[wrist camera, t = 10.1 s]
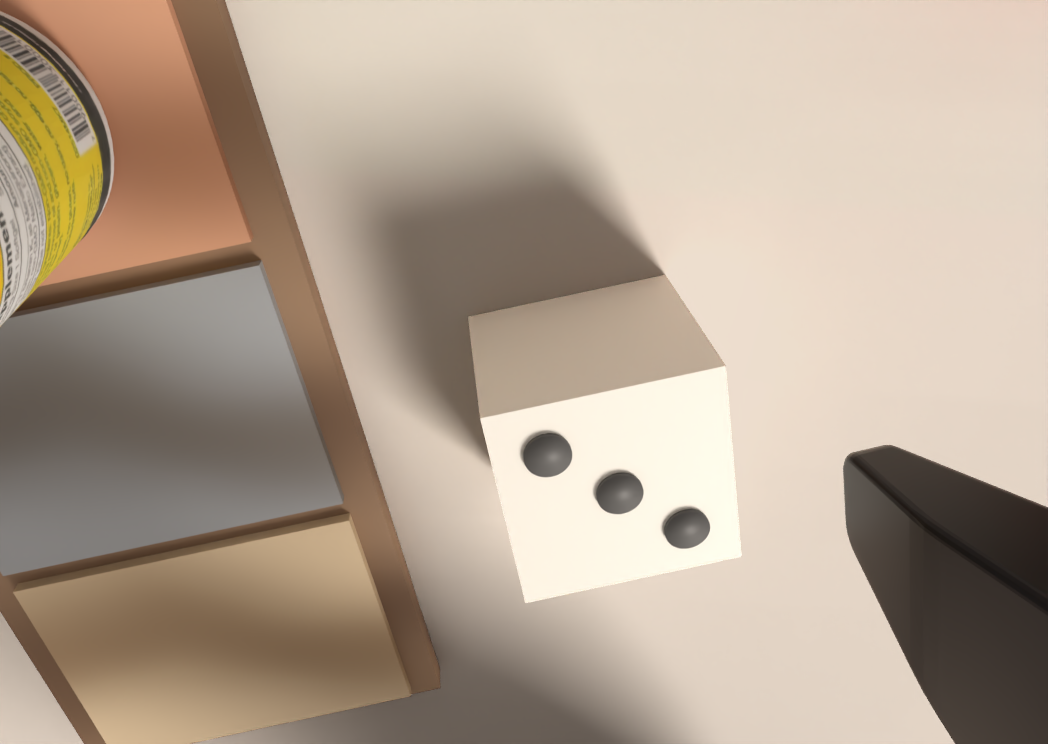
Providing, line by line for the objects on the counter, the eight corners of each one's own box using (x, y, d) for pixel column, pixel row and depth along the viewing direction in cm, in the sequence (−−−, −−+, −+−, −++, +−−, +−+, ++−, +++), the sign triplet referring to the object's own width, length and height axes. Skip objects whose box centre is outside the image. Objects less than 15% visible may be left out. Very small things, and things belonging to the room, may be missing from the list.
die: (683, 438, 22) (743, 559, 18) (505, 476, 22) (525, 606, 18) (664, 273, 20) (727, 368, 16) (467, 315, 20) (480, 421, 16)
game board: (440, 668, 24) (440, 697, 24) (103, 740, 24) (92, 771, 24) (184, -125, 15) (169, -127, 14) (-359, -12, 15) (-408, -7, 14)
